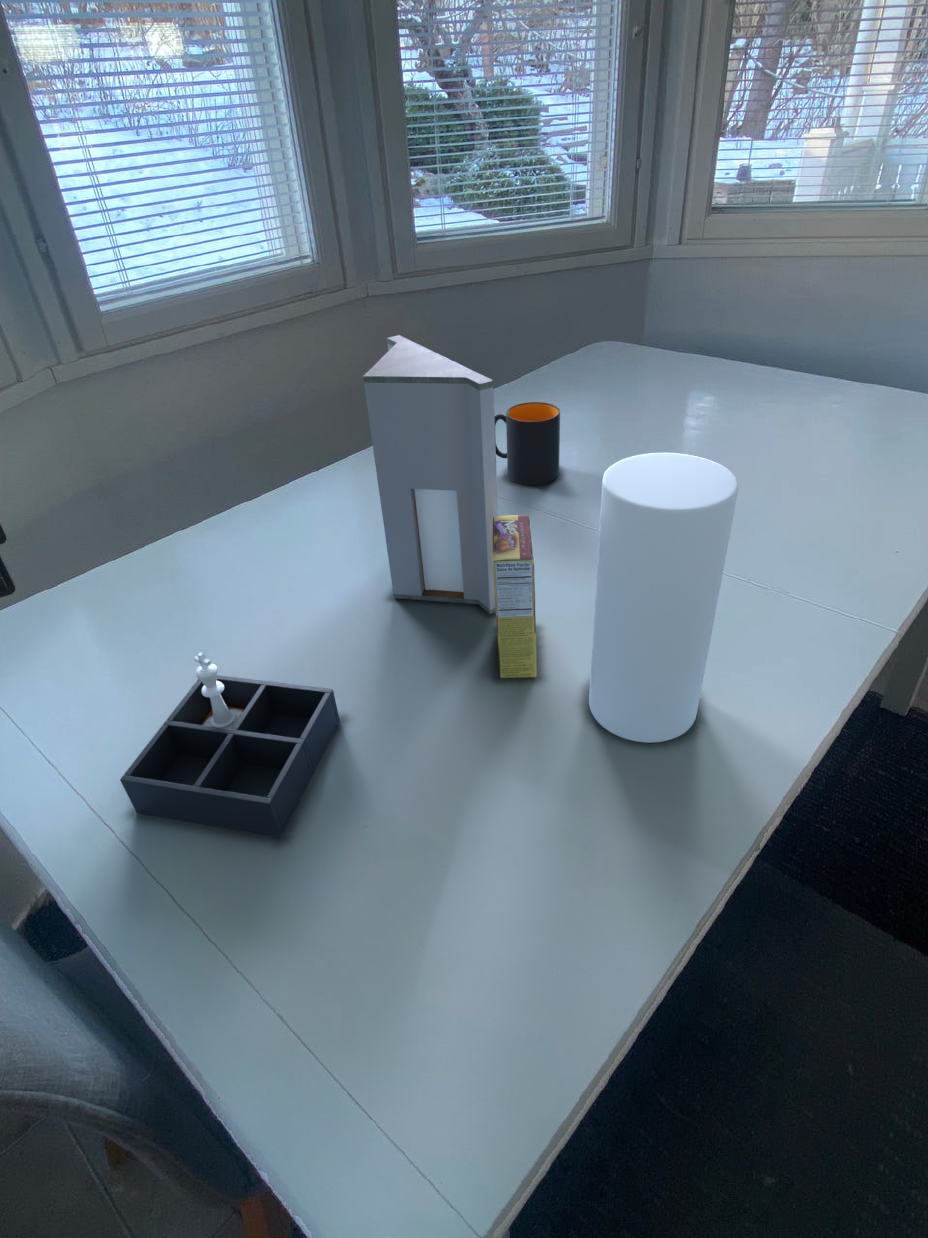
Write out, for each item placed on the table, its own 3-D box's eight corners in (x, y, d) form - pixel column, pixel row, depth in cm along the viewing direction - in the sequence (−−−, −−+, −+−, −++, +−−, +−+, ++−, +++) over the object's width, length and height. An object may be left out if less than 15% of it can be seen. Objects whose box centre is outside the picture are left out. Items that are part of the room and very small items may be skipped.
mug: (504, 455, 124) (503, 395, 118) (568, 468, 119) (569, 406, 112) (478, 474, 119) (475, 412, 113) (543, 489, 113) (543, 425, 107)
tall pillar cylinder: (658, 659, 79) (687, 442, 65) (719, 723, 71) (768, 492, 56) (570, 686, 77) (579, 466, 62) (622, 756, 69) (647, 522, 54)
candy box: (496, 629, 85) (492, 514, 76) (533, 628, 85) (533, 512, 76) (496, 680, 78) (491, 559, 69) (537, 679, 78) (537, 558, 69)
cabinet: (501, 610, 88) (493, 380, 72) (431, 638, 85) (406, 402, 68) (420, 539, 103) (399, 334, 87) (358, 560, 100) (323, 351, 83)
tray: (280, 838, 63) (269, 804, 61) (136, 813, 67) (119, 779, 64) (340, 722, 75) (333, 688, 72) (214, 705, 78) (202, 673, 75)
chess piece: (227, 707, 76) (201, 632, 70) (262, 722, 74) (238, 646, 68) (191, 738, 73) (161, 661, 67) (227, 755, 71) (199, 677, 65)
